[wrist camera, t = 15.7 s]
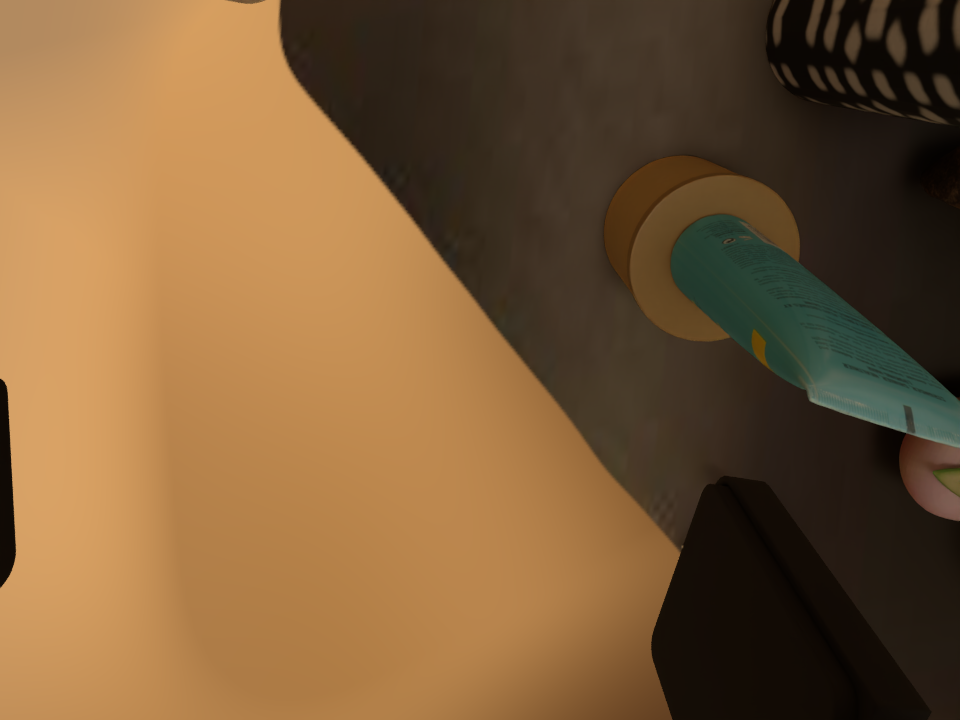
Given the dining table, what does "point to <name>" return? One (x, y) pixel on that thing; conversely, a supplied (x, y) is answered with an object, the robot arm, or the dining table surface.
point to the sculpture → (944, 178)
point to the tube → (807, 330)
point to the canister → (667, 214)
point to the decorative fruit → (932, 475)
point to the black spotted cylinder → (870, 55)
